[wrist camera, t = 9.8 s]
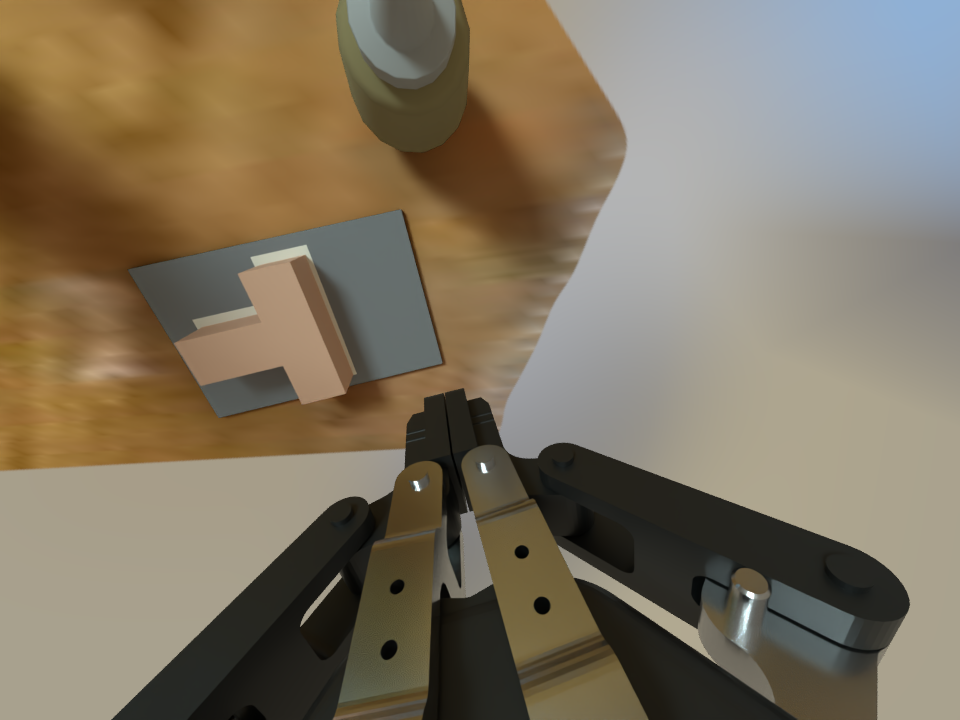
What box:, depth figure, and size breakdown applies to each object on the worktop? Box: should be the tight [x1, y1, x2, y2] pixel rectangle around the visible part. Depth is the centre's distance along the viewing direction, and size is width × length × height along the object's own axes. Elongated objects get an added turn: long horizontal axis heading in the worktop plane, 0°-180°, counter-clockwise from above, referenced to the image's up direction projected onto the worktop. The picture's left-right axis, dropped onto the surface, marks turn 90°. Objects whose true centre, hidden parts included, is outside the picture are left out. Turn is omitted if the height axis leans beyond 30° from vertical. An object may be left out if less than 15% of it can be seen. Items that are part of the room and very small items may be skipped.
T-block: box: [174, 255, 353, 405], centre depth 32 cm, size 12×11×4 cm
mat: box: [128, 210, 442, 418], centre depth 34 cm, size 15×23×1 cm, turn 101°
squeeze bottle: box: [336, 0, 470, 152], centre depth 20 cm, size 8×8×18 cm
